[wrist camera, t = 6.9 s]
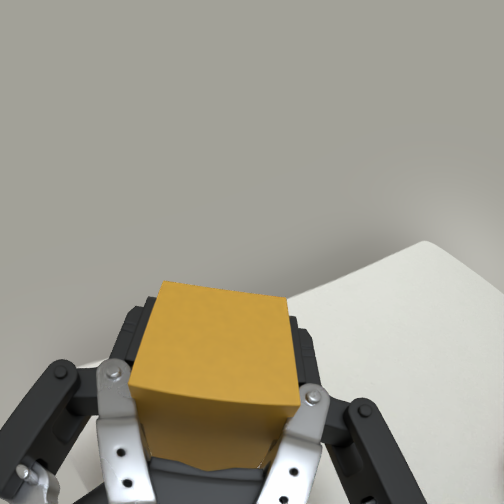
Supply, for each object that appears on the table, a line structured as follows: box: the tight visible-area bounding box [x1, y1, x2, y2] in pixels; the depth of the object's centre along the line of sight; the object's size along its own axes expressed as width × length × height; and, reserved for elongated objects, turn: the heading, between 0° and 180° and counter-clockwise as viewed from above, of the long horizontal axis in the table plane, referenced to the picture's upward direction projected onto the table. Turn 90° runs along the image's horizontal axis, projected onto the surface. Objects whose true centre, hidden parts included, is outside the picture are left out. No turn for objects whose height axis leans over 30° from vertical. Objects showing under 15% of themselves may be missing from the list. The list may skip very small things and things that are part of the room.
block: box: [128, 281, 301, 471], centre depth 12 cm, size 5×5×9 cm
